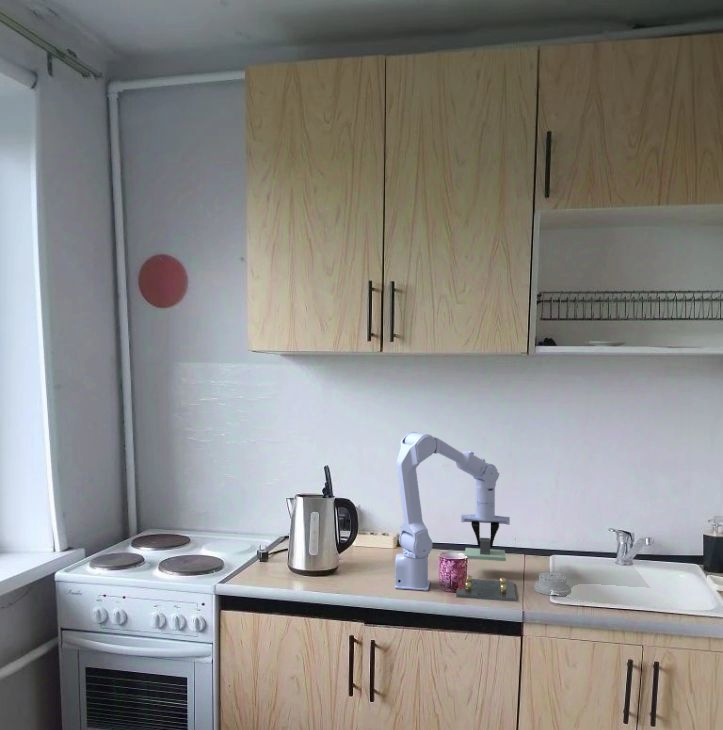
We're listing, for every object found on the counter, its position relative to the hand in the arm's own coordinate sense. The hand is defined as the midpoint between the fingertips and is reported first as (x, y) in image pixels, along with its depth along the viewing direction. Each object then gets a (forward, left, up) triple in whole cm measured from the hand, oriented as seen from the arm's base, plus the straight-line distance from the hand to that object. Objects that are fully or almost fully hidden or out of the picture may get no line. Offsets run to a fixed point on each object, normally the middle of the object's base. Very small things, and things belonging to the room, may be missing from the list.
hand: (485, 546), depth 189 cm
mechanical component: (+19, -10, -9) cm, 23 cm away
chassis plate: (0, -14, -9) cm, 16 cm away
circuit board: (0, 0, -3) cm, 3 cm away
